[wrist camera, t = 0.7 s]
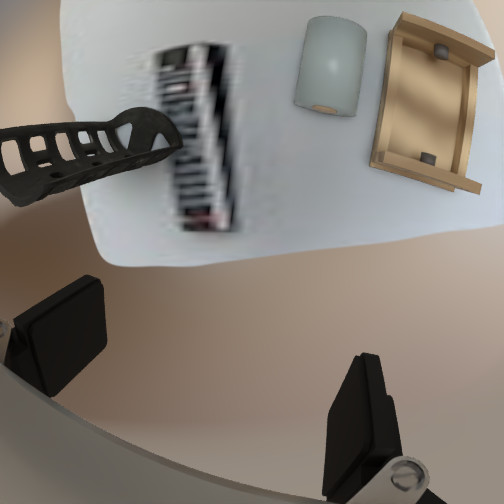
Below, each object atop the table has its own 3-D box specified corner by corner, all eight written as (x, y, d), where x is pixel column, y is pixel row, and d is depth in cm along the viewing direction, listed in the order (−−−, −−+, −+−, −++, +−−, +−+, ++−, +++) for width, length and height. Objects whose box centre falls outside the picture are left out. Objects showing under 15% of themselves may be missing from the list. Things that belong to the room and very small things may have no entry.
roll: (306, 31, 27) (310, 8, 21) (360, 43, 26) (374, 24, 21) (292, 108, 30) (294, 99, 24) (348, 121, 30) (361, 114, 24)
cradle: (389, 33, 25) (402, 7, 18) (467, 62, 23) (494, 46, 17) (369, 166, 30) (381, 167, 24) (450, 191, 29) (478, 199, 22)
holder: (191, 114, 32) (53, 116, 14) (180, 176, 35) (50, 231, 17) (116, 103, 33) (-19, 113, 16) (109, 159, 37) (-19, 198, 19)
